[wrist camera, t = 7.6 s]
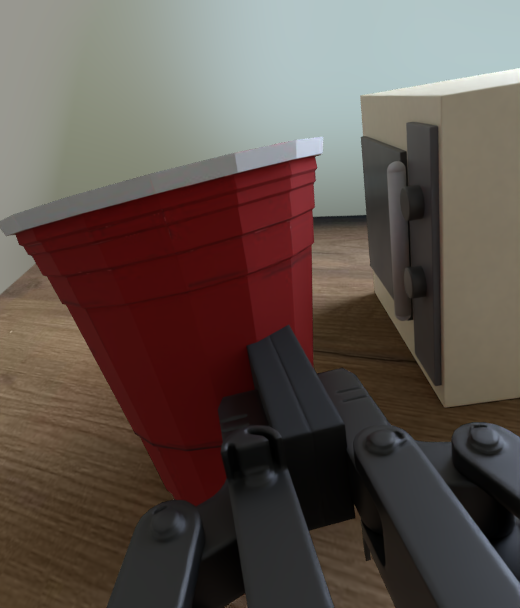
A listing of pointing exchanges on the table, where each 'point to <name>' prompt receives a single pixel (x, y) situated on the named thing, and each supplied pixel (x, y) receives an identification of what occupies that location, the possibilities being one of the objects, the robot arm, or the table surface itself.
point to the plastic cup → (184, 289)
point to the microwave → (449, 228)
